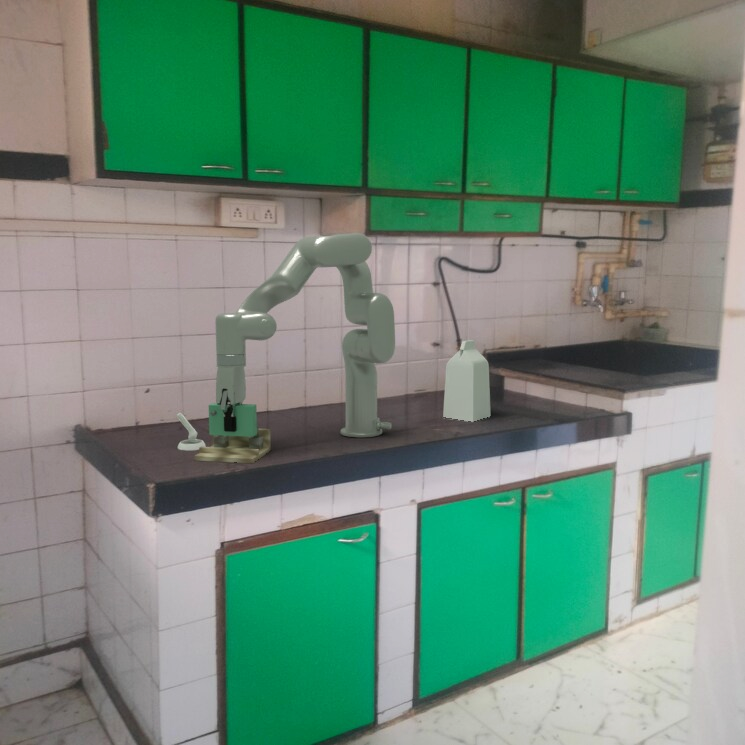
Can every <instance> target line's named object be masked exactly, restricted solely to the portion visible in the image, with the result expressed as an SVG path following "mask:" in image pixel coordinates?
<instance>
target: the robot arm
mask: <svg viewBox="0 0 745 745" xmlns="http://www.w3.org/2000/svg"><path fill="white" fill-rule="evenodd" d="M372 247H373V246H372V243H371V241H370V239H369V237H368V236H367V235H366V234H364V233H360V232H352V233H349V232H348V233H338V234H331V235H316V236H305V237H302V238H300V239H298V241H296V243H294V245H293V246H292V248H291V250H290V251H289V252H288V254H287V255H286V256H285V257H284V259H283V260H282V262H281V263H280V265H279V266H278V268H277V269H276V270H275V271H274V272H273V274H272V275H271V276H270V277H269V278H267V279H266V280H265V281H264V282H262V283H261V284H260V285H259V286H257V288H255V289H254V290H253V291H252V292H251V293H250V294H249V295H248V296H247V297H246V298H245V299H244V301H243V302H242V303H241V305H240V306H239V308H237V310H236V312H233V313H232V312H230V313H229V312H228V313H227V312H225V313H220V314H217V315H216V316H215V346H216V348H215V349H216V350H215V352H216V367H217V370H216V380H215V381H216V382H215V403H217V405H221V410H222V411H223V416H224V431H226V432H235V431H236V416H235V405H236V404H244V400H246V394H247V393H246V391H247V388H246V373H245V367H247V354H246V353H247V352H246V350H247V348H246V341H247V340H250V341H251V340H252V341H261V342H262V341H266V340H269V339H271V338H272V337H273V336H274V335H275V333H276V332H277V328H278V327H277V321H276V320H275V318H274V317H273V316H272V315H270V314H269V313H268V312H270V311H271V310H272V309H273V308H274V307H276V306H277V305H280V304H282V303H284V302H287V301H289V300H291V299H293V298H294V297H296V296H298V295H299V293H300V292H301V291H302V289H303V287H305V285H306V283H307V282H308V280H309V279H310V278H311V276H312V275H313V273H314V272H315V271H316V270H317V268H318V269H319V268H334V267H336V268H337V269H338V272H339V273H340V276H341V278H342V286H343V302H344V314H345V318H346V319H347V321H348V322H349V323H350V324H354V325H357V326H358V325H359V326H366V327H367V328H354V329H352V330H350V331H348V332H346V334H345V335H344V337H343V339H342V343H341V350H342V355H343V360H344V369H345V384H344V385H345V427H342V428H341V429H340V435H342V436H345V437H351V438H373V437H377V436H380V435H382V434H383V429H385V430H391V429H392V422H389V421H381V420H380V417H378V373H377V368H376V365H375V364H386V363H387V362H389V361H390V360H392V358H393V356H394V354H395V350H396V327H395V326H396V325H395V311H394V306H393V303H392V302H391V299H389V297H388V296H387V295H385V294H384V293H380V292H374V290H373V282H372V281H373V279H372V273H371V269H370V267H369V265H368V263H367V262H366V261H368V259H369V258H370V256H371V254H372V250H373V248H372ZM228 404H231V405H228ZM228 407H231V409H230V408H228Z"/></svg>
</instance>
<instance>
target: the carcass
mask: <svg viewBox="0 0 745 745" xmlns="http://www.w3.org/2000/svg"><path fill="white" fill-rule="evenodd" d="M271 438H272V437H271V428H259V426H257V435H255V436H253V437H245V436H220V435H212V445H211V446H206V447H199V451H198V453H196V454H195V455H193V461H195V462H217V463H234V462H237V463H238V464H255V463H256V462H257V461H259V460H260V459H261V458H262V457H264V456H266V453H267V454H268V453H269V451H270V452H271V451H272V447H271V445H272V444H271V443H272V442H271ZM258 459H259V460H258ZM255 461H256V462H255ZM237 463H236V464H237Z"/></svg>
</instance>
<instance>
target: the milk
mask: <svg viewBox="0 0 745 745" xmlns="http://www.w3.org/2000/svg"><path fill="white" fill-rule="evenodd" d="M445 365H446V366H445V377H444V378H445V380H444V395H443V396H444V397H443V398H444V399H443V412H442V415H443V416H442V418H443V417H446V418H452V419H451V420H453V419H458V420H457V421H460V420H464V421H463V422H468V421H471V422H470V423H475V422H474V421H476V422H478V421H477V420H479V421H481V420H480V419H482V420H484V419H483V418H485V419H487V417H488V418H490V416H491V394H490V392H491V391H490V390H491V388H490V367H489V366H490V365H489V362H488V360H487V358H485V357H484V355H483V354H481V352H480V351H479V350H478V349H477V348H476V342H475V339H473V340H472V339H470V340H462V341H461V344H460V348H459V350H458V351H457V352H456V353H455V354H454V355H453V356H452V357H450V359H449V360H448V361H447V362H446V364H445Z"/></svg>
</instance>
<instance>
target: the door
mask: <svg viewBox="0 0 745 745" xmlns="http://www.w3.org/2000/svg"><path fill="white" fill-rule="evenodd" d="M228 405H231V404H230V403H228ZM228 408H230V409H231V407H228ZM257 415H258V414H257V404H256V403H255V404H251V403H242V404H236V405H235V416H236V431H235V432H226V431H224V416H223V411H222V410H221V405H217V403H216V402H213V403H211V404H208V427H209V428H208V429H209V432H208V433H209V436H213V435H220V436H245V437H253V436H255V435H257V427H258V424H257V423H258V417H257Z"/></svg>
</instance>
